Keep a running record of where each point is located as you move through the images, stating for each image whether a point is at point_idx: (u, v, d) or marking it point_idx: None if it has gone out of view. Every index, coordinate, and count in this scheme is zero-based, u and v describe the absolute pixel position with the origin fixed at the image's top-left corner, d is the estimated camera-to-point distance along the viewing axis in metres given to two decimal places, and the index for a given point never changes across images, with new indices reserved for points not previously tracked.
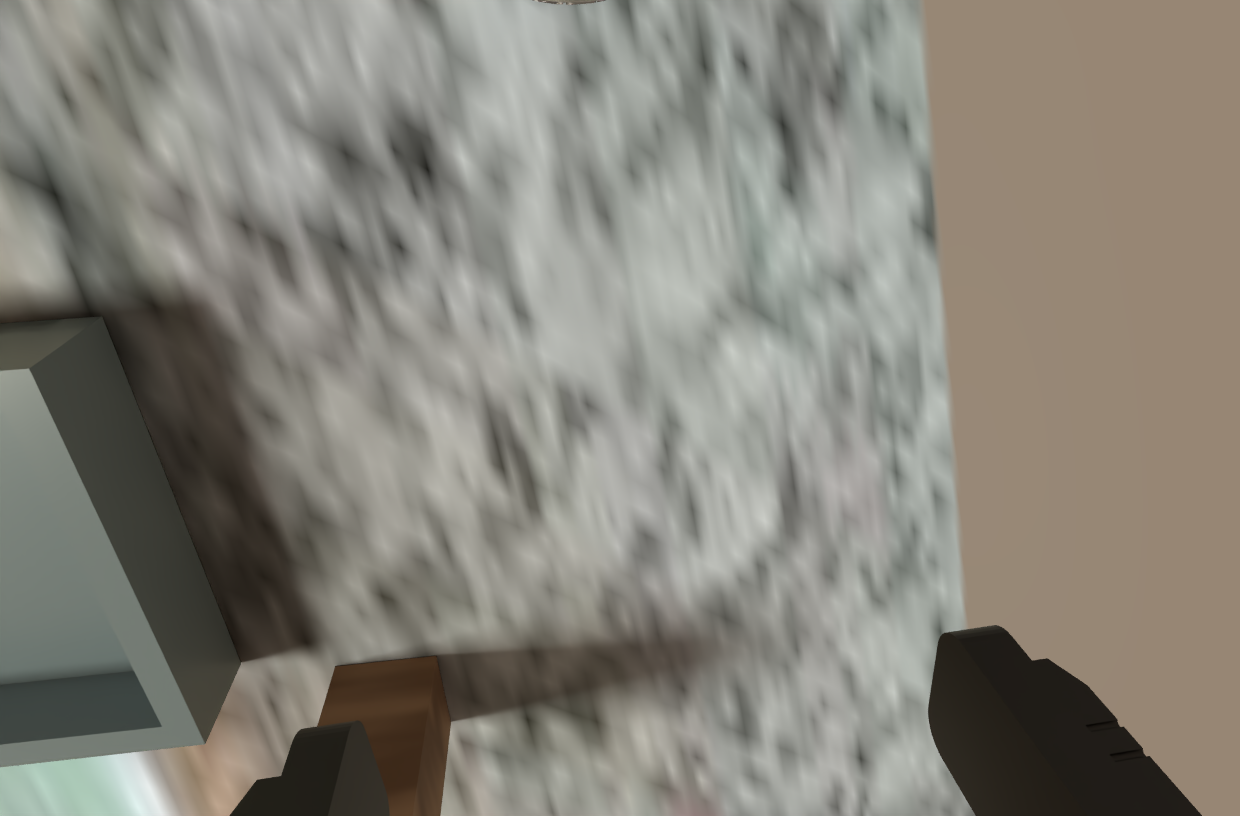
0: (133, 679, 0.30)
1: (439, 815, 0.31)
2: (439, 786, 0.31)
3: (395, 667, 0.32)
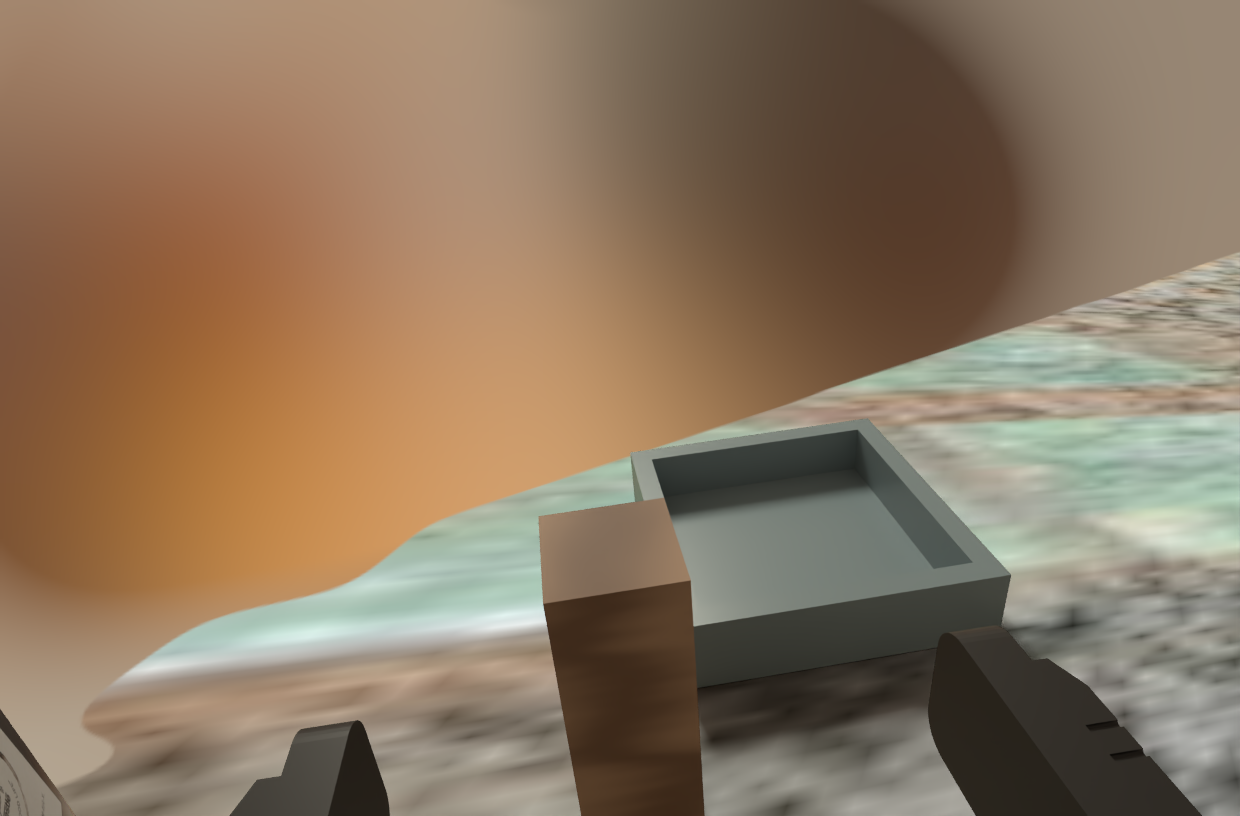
0: None
1: (583, 804, 0.26)
2: None
3: None
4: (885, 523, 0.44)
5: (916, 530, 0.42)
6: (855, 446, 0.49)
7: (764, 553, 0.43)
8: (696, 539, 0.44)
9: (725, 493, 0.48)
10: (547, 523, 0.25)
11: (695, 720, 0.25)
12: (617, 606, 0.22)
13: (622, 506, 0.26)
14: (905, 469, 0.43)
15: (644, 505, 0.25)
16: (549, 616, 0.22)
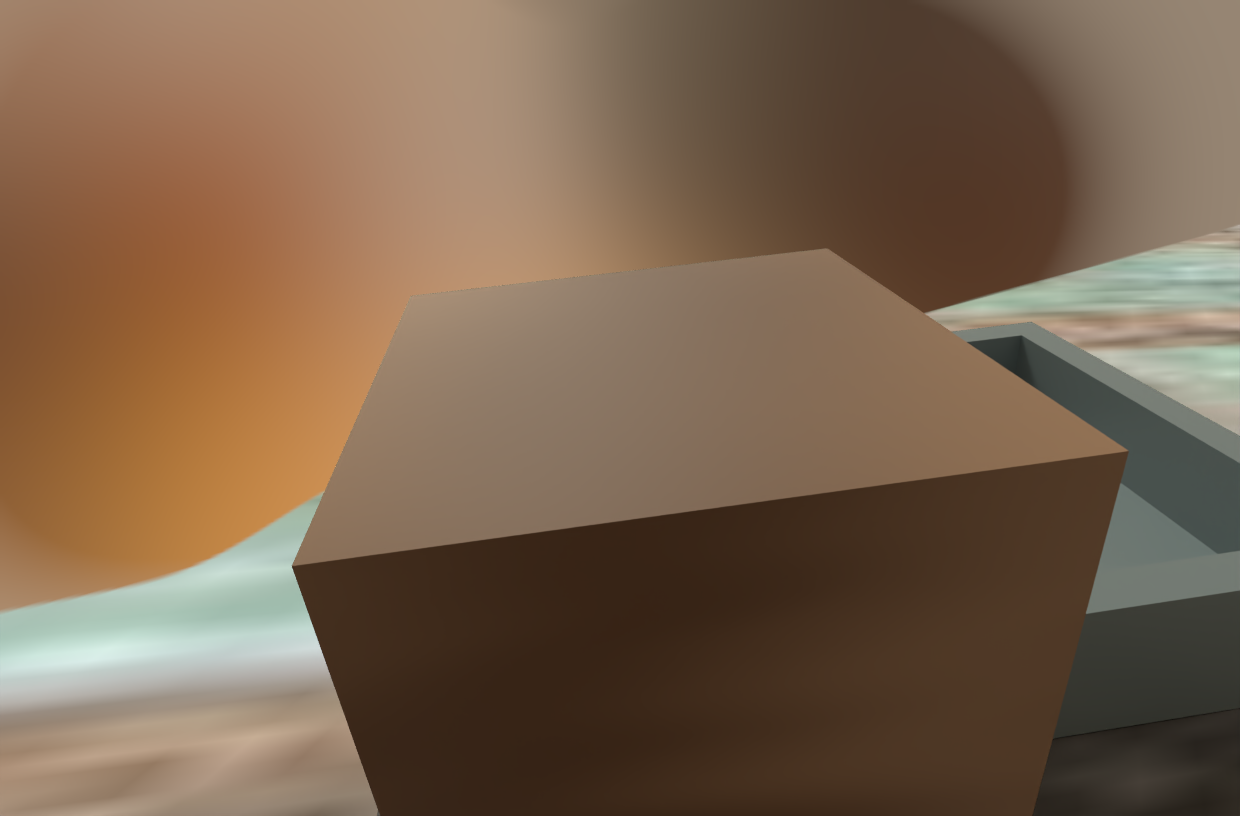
0: None
1: None
2: None
3: None
4: None
5: (1168, 485, 0.23)
6: (1015, 364, 0.31)
7: None
8: None
9: None
10: (434, 307, 0.07)
11: None
12: (721, 594, 0.04)
13: (691, 267, 0.08)
14: (1131, 385, 0.25)
15: (768, 263, 0.08)
16: (341, 644, 0.04)
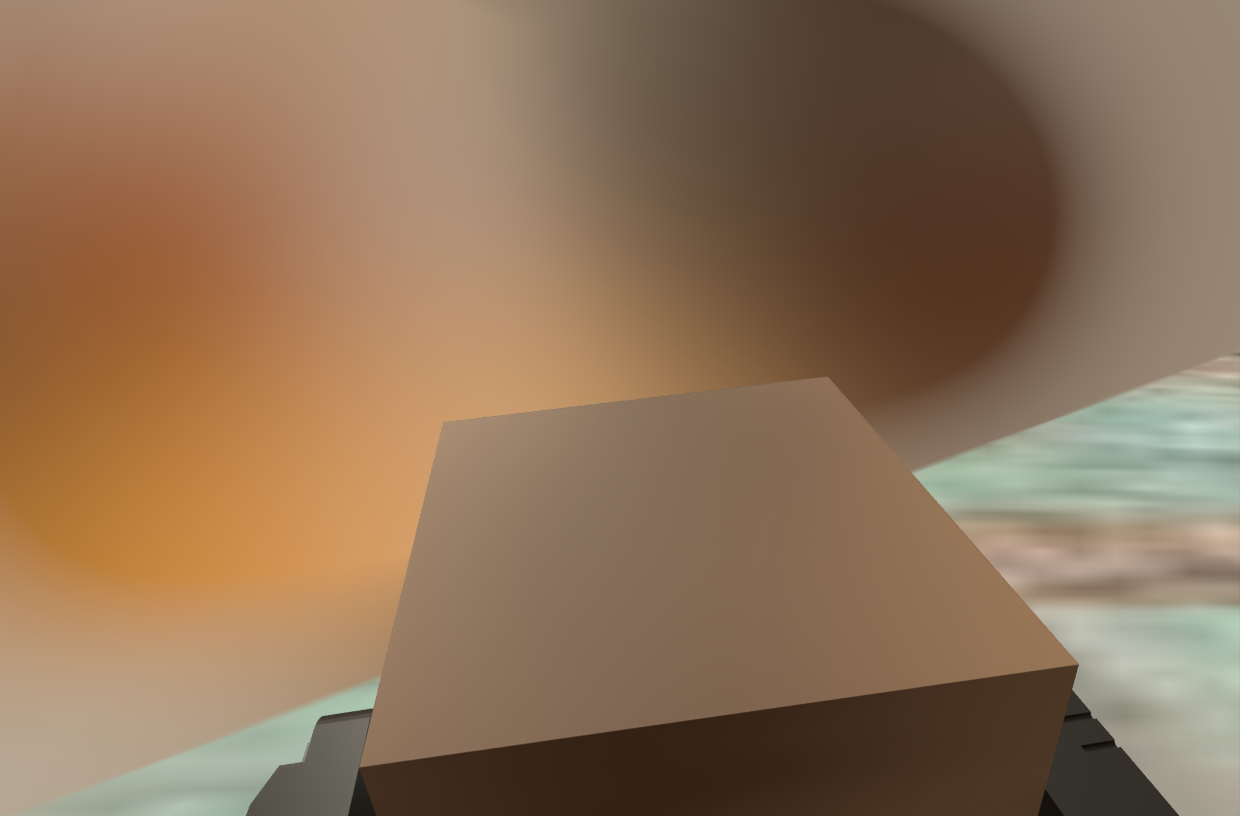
0: None
1: None
2: None
3: None
4: None
5: None
6: None
7: None
8: None
9: None
10: (465, 440, 0.08)
11: None
12: (722, 780, 0.05)
13: (701, 398, 0.08)
14: None
15: (772, 395, 0.08)
16: None
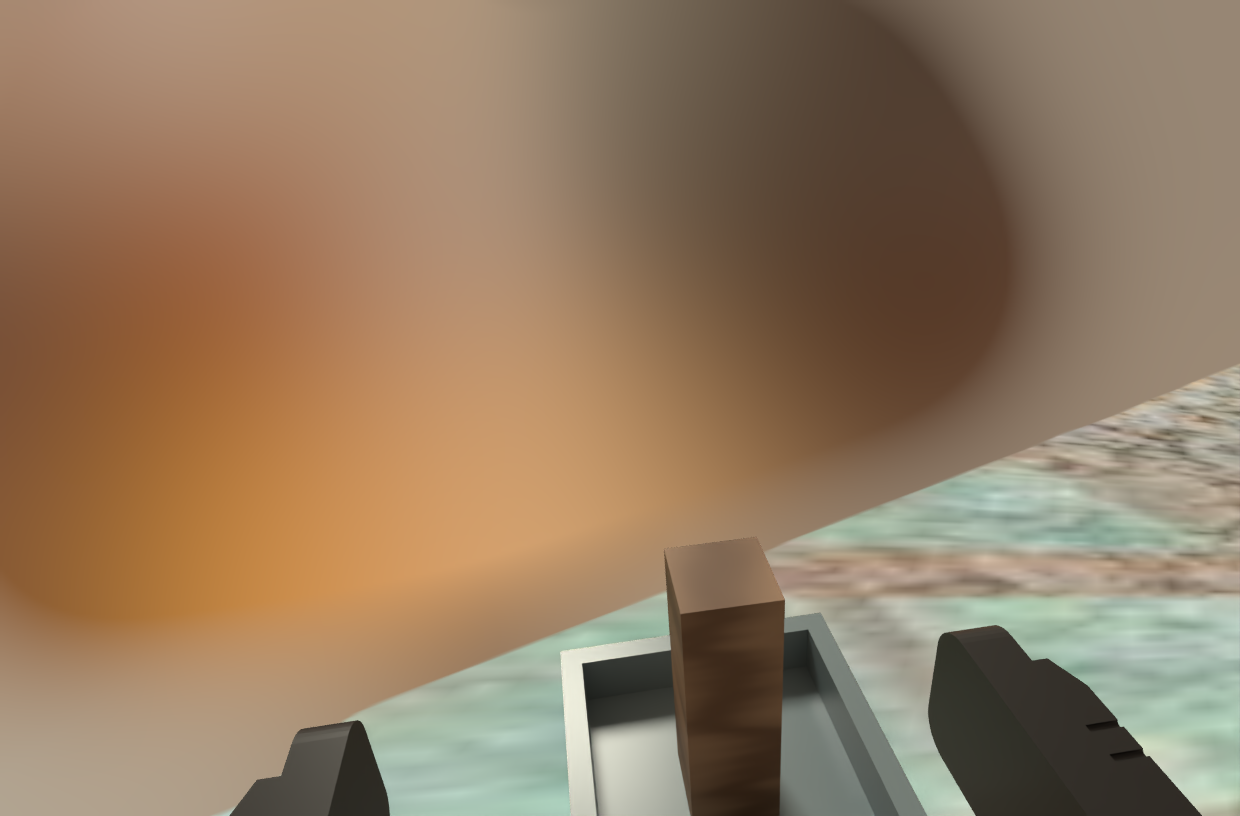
0: None
1: (692, 764, 0.35)
2: (705, 775, 0.35)
3: None
4: (832, 752, 0.40)
5: (863, 774, 0.38)
6: (806, 645, 0.45)
7: None
8: (625, 765, 0.40)
9: (663, 696, 0.44)
10: (671, 554, 0.34)
11: (779, 702, 0.33)
12: (731, 617, 0.31)
13: (725, 542, 0.34)
14: (854, 695, 0.40)
15: (742, 542, 0.34)
16: (683, 623, 0.31)
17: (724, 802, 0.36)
